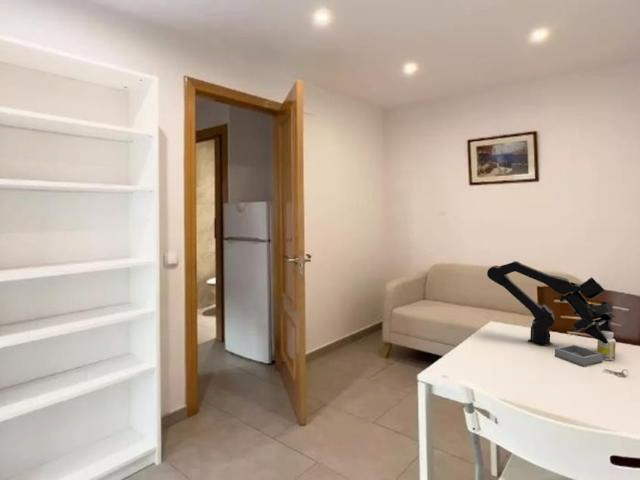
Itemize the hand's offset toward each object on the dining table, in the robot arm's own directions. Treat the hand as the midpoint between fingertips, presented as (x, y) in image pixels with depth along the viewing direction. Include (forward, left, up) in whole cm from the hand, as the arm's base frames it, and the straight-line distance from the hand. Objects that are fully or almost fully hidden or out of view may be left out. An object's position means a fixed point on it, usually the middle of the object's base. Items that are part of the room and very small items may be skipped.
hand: (610, 341), depth 141 cm
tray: (-4, -11, -7) cm, 14 cm away
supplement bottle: (-1, 0, -7) cm, 7 cm away
